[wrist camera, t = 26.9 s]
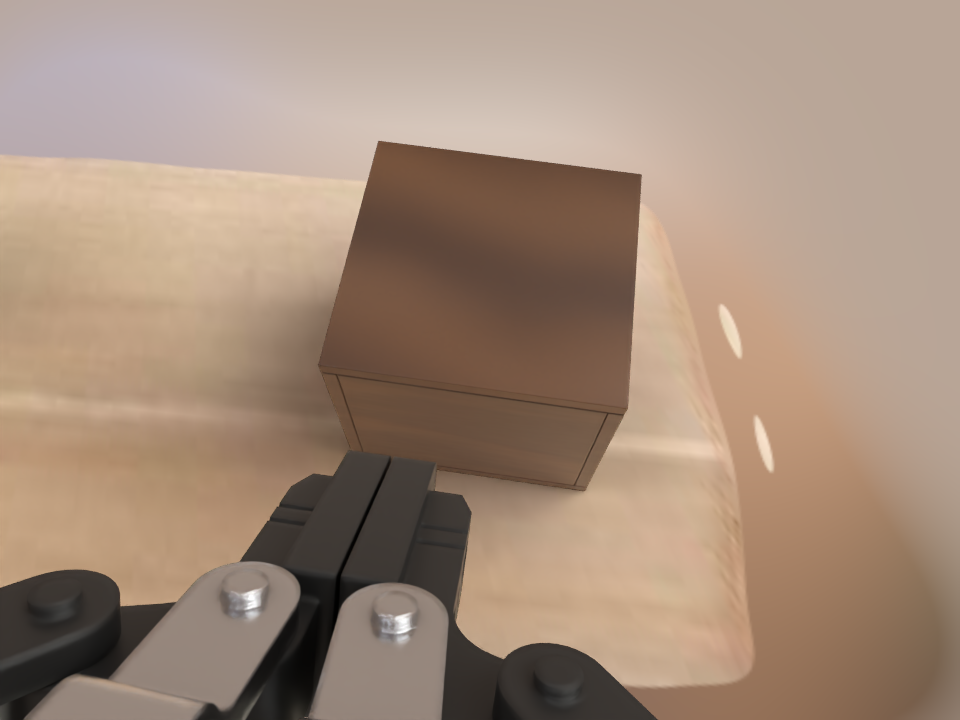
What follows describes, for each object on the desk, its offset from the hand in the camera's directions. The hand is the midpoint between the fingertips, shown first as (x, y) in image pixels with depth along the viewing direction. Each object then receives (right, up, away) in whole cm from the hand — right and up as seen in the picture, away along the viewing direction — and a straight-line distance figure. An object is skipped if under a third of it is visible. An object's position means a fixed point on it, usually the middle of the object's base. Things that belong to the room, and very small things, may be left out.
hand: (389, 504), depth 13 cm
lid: (+2, +7, +27) cm, 28 cm away
